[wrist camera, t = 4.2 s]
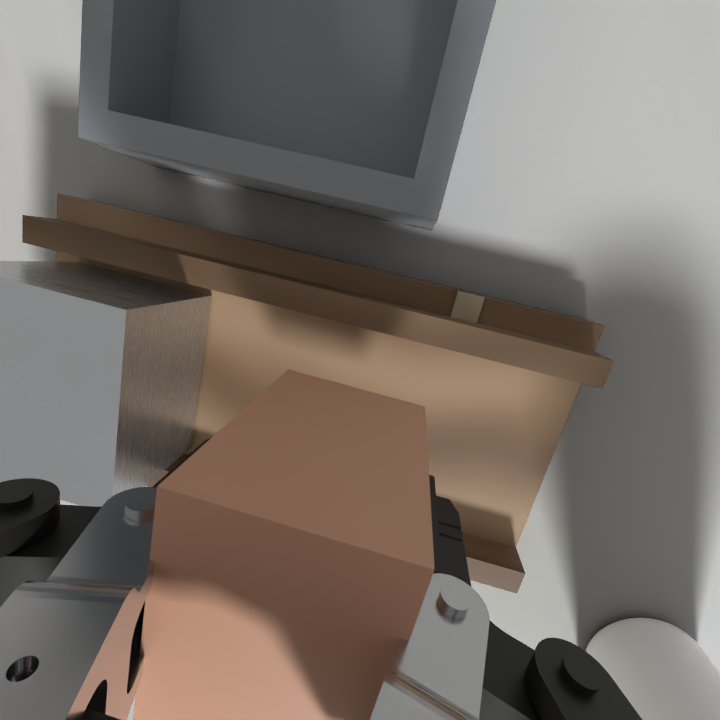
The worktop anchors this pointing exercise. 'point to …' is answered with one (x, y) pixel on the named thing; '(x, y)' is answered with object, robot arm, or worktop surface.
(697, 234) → the worktop surface
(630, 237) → the worktop surface
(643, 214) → the worktop surface
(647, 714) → the white cylinder
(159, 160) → the tray
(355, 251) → the worktop surface
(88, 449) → the block
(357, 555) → the block
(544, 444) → the guide board
